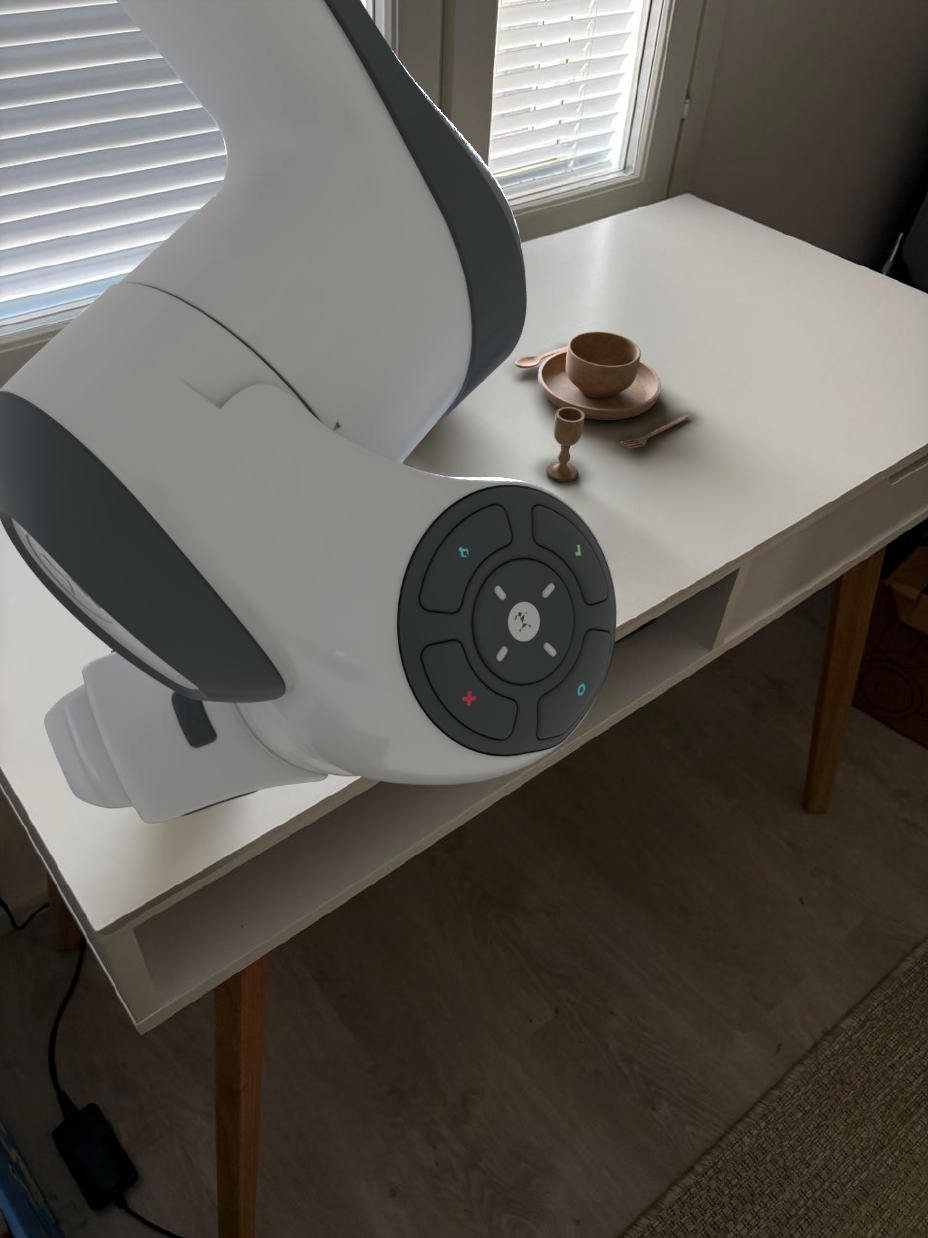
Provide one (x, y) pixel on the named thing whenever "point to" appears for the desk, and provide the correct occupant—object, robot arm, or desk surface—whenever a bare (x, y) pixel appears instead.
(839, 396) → the desk surface
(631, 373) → the place setting
